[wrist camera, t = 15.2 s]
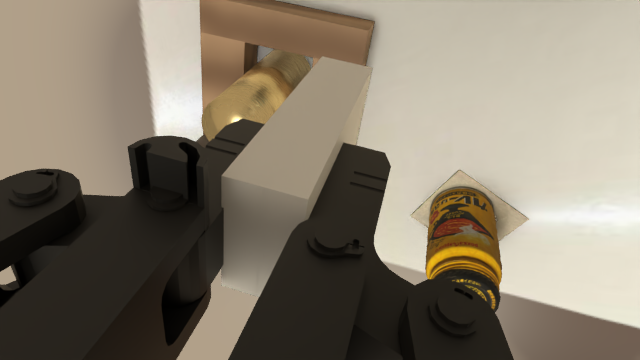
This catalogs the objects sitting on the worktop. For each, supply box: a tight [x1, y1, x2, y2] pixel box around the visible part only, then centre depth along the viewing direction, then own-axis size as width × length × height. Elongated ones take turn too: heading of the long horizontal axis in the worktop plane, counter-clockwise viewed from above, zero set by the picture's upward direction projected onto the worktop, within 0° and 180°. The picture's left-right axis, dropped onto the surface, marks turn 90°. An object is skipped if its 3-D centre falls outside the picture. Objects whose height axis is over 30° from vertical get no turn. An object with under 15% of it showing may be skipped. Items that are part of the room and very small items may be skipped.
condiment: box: [411, 170, 529, 312], centre depth 38 cm, size 7×8×12 cm
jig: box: [196, 0, 375, 148], centre depth 38 cm, size 15×14×6 cm
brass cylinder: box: [202, 49, 311, 142], centre depth 34 cm, size 5×5×12 cm
